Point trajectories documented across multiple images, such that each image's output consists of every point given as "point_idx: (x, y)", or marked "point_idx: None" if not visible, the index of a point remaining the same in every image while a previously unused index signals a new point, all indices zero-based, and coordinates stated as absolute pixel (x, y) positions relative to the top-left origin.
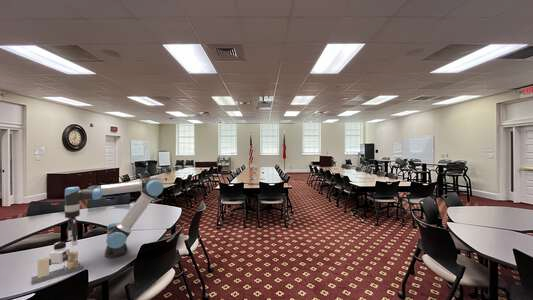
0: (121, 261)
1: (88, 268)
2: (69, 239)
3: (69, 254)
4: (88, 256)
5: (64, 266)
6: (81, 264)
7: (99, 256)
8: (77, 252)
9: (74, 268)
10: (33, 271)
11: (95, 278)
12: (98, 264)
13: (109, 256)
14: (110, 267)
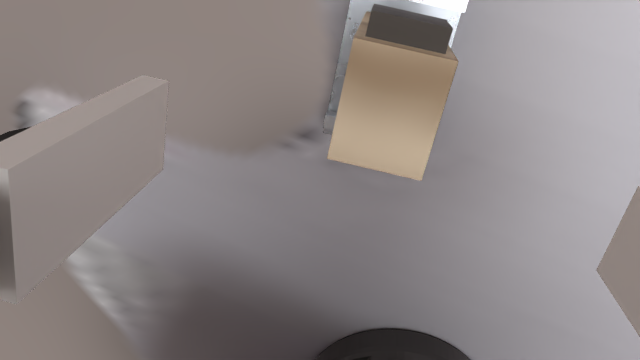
0: (194, 339)
1: (294, 153)
2: (636, 211)
3: (351, 53)
4: (584, 271)
5: (450, 2)
6: (328, 128)
7: (473, 314)
8: (330, 149)
9: (340, 61)
10: None
11: (42, 101)
12: (301, 232)
13: (349, 344)
14: (153, 251)
